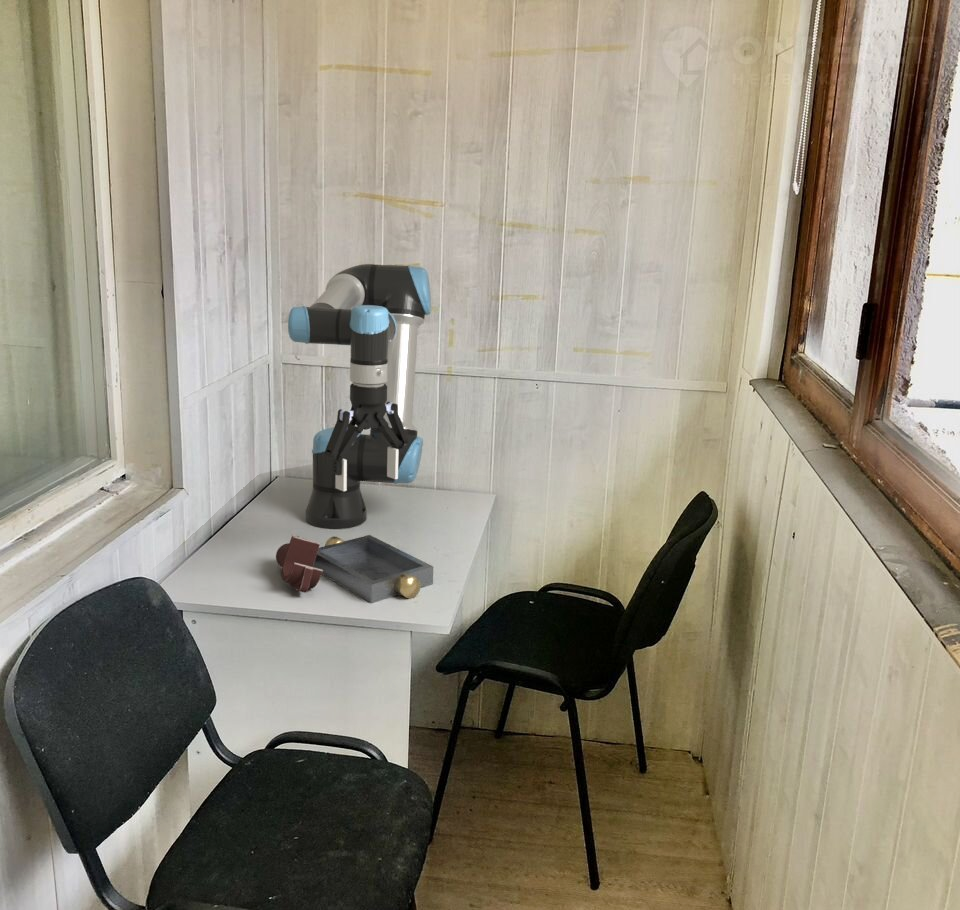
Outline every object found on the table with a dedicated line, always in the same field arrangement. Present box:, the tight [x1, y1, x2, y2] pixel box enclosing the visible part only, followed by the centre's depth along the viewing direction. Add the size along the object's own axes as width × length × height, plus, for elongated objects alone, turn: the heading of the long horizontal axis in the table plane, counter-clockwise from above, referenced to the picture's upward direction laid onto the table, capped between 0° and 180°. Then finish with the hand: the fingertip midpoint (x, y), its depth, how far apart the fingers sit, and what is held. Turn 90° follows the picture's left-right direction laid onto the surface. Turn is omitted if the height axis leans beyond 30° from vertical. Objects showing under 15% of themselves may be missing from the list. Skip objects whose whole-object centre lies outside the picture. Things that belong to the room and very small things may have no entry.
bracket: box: [275, 534, 323, 593], centre depth 193 cm, size 6×17×10 cm, turn 27°
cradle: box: [313, 534, 434, 604], centre depth 198 cm, size 29×16×4 cm, turn 42°
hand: (367, 483), depth 192 cm, fingers open, 13 cm apart
